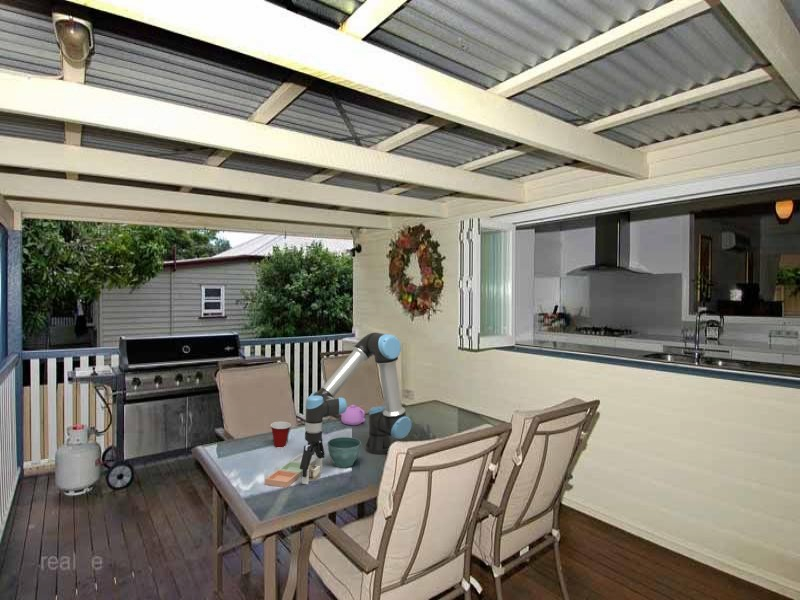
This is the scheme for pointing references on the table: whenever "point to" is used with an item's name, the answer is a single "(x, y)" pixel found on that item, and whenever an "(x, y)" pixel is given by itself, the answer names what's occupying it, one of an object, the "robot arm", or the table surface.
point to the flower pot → (344, 451)
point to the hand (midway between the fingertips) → (312, 477)
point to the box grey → (299, 458)
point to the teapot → (353, 415)
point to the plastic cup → (280, 433)
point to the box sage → (292, 467)
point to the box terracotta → (281, 478)
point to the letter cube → (314, 472)
